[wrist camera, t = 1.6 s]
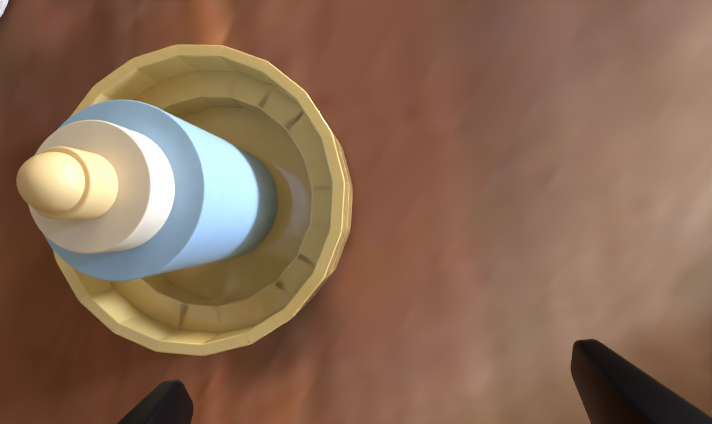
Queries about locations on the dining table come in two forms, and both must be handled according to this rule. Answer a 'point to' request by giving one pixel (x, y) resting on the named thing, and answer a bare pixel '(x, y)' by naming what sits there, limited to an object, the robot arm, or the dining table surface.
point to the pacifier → (3, 6)
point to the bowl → (293, 219)
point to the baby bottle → (144, 193)
